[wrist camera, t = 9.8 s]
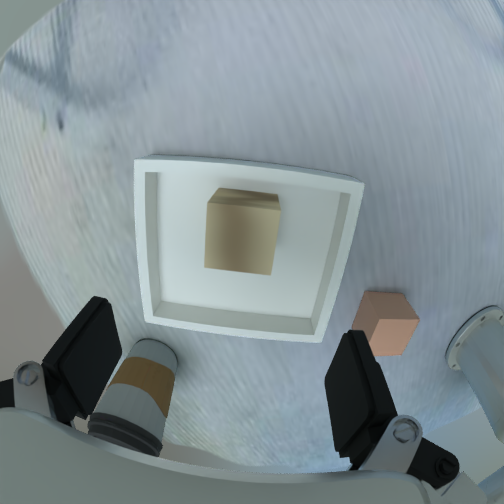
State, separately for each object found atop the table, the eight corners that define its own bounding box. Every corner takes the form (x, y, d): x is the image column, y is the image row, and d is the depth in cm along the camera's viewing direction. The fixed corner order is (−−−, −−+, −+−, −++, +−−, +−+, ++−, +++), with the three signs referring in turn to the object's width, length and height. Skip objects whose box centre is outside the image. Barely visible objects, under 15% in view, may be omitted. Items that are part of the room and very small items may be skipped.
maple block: (277, 194, 23) (281, 210, 18) (269, 248, 25) (270, 275, 20) (218, 187, 23) (207, 202, 18) (214, 241, 25) (204, 267, 20)
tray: (351, 176, 23) (365, 183, 19) (316, 321, 29) (321, 342, 26) (150, 154, 22) (134, 159, 19) (155, 302, 29) (145, 321, 26)
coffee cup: (118, 330, 32) (68, 421, 18) (175, 332, 31) (137, 440, 17) (140, 373, 35) (107, 457, 22) (192, 376, 34) (169, 472, 21)
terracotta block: (401, 292, 28) (420, 319, 23) (387, 327, 30) (401, 355, 25) (364, 290, 28) (379, 319, 23) (351, 326, 30) (362, 356, 25)
